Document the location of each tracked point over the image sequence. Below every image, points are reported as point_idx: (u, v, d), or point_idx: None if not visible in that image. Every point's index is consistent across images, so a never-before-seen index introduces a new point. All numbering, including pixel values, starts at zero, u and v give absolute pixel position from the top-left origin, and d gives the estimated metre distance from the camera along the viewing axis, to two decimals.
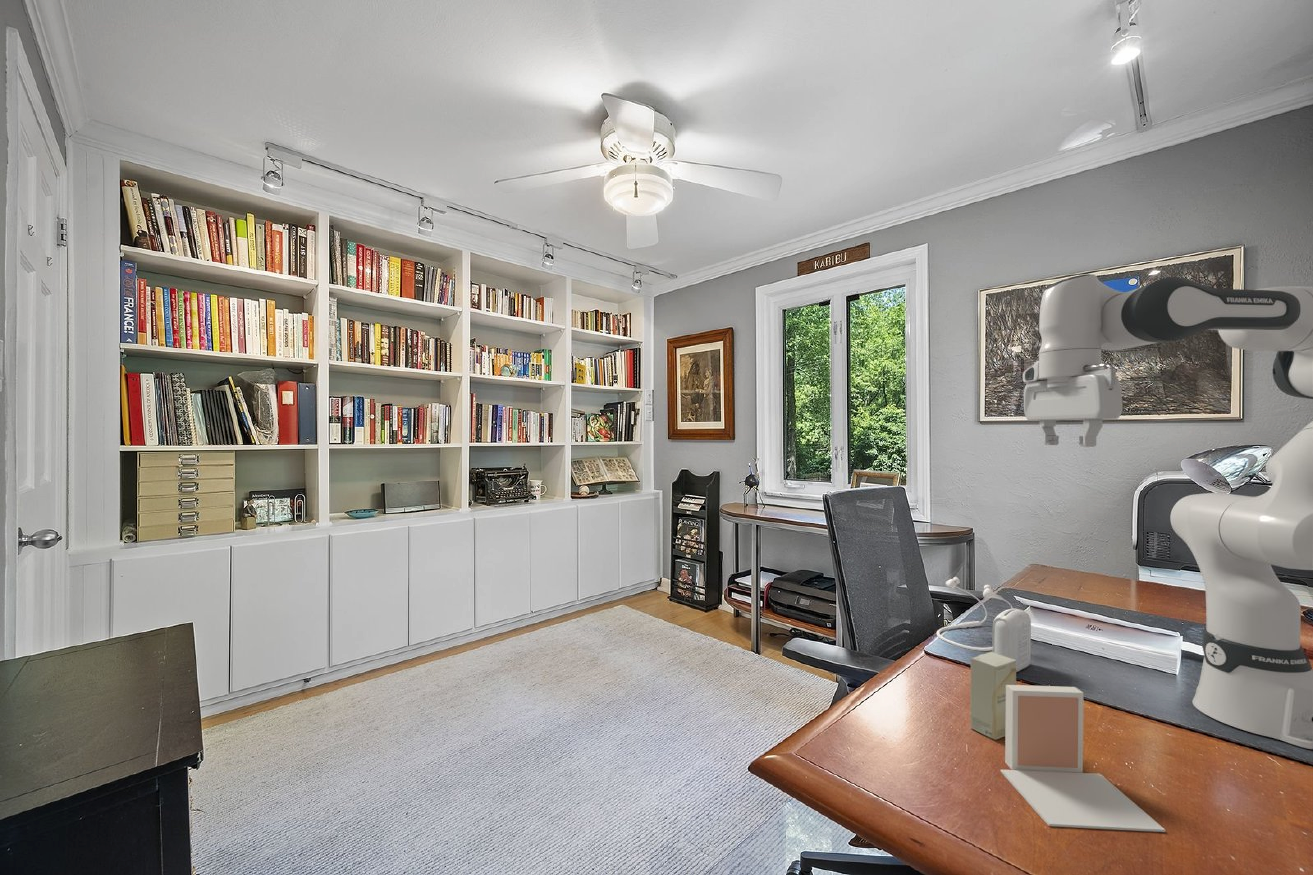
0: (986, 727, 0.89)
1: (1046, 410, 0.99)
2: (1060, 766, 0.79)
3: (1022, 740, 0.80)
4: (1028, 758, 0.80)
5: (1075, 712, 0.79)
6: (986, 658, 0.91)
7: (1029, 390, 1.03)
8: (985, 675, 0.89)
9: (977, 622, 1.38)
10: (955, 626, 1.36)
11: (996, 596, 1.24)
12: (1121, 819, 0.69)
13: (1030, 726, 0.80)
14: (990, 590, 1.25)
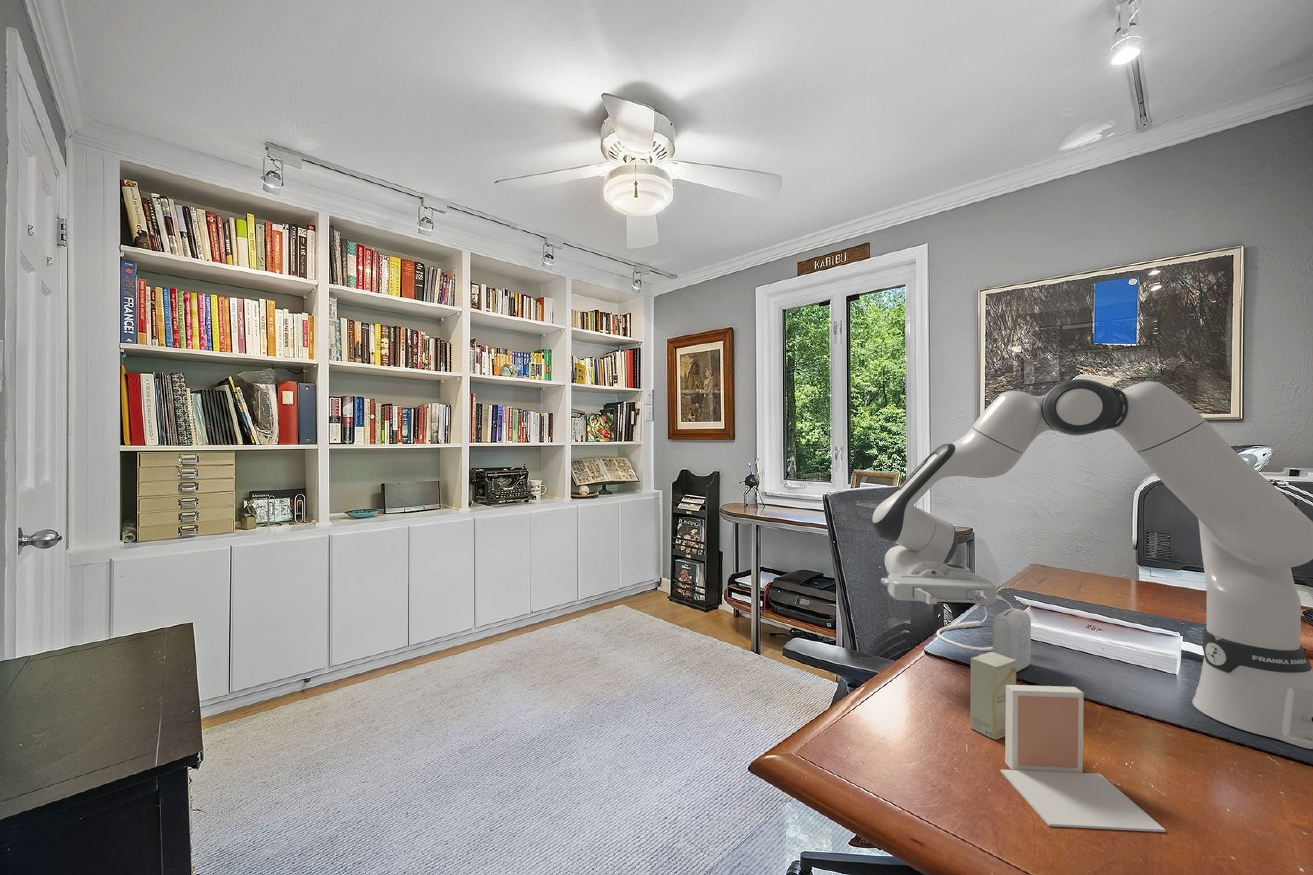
0: (986, 727, 0.89)
1: None
2: (1060, 766, 0.79)
3: (1022, 740, 0.80)
4: (1028, 758, 0.80)
5: (1075, 712, 0.79)
6: (986, 658, 0.91)
7: None
8: (985, 675, 0.89)
9: (977, 622, 1.38)
10: (955, 626, 1.36)
11: None
12: (1121, 819, 0.69)
13: (1030, 726, 0.80)
14: None
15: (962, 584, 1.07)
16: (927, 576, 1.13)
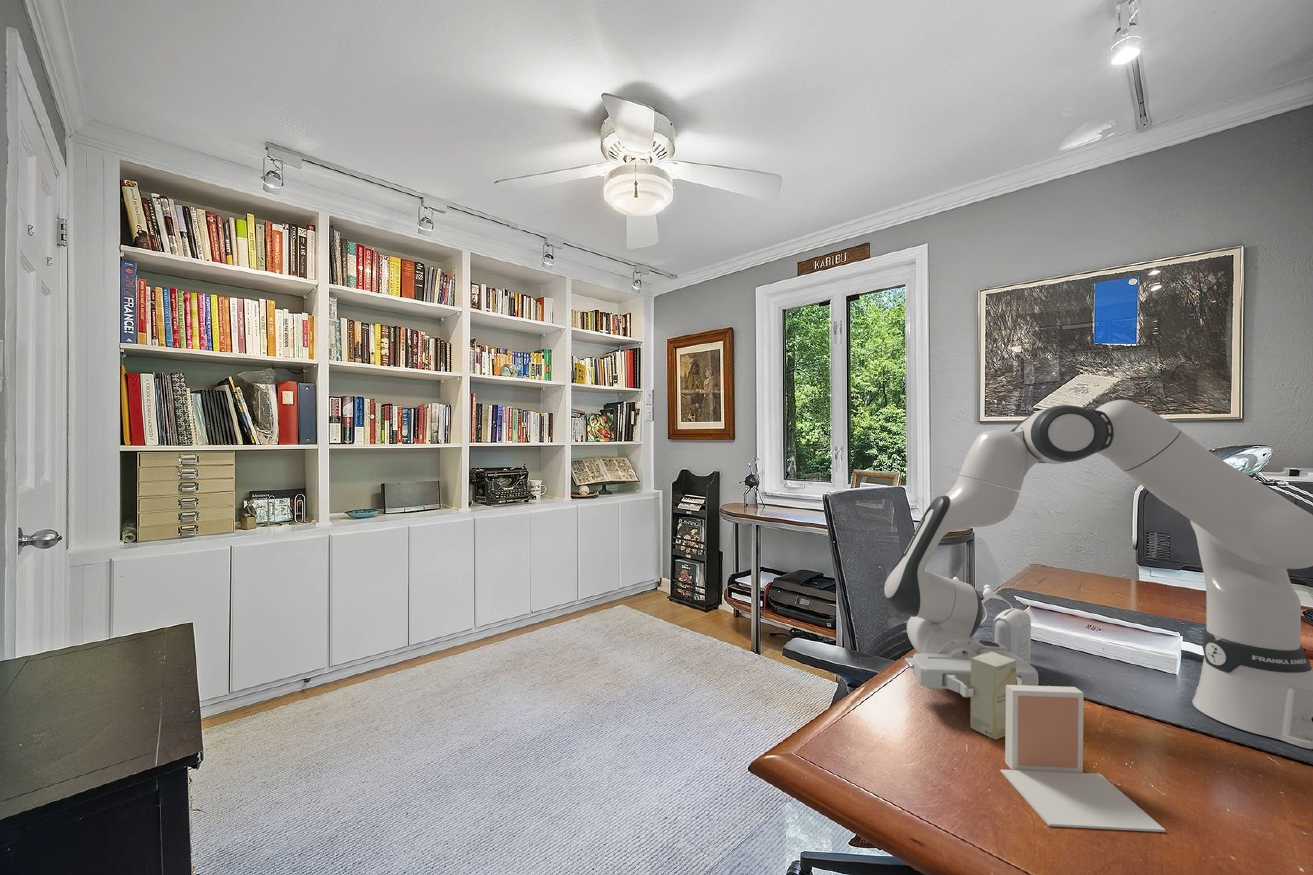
0: (986, 727, 0.89)
1: None
2: (1060, 766, 0.79)
3: (1022, 740, 0.80)
4: (1028, 758, 0.80)
5: (1075, 712, 0.79)
6: (986, 658, 0.91)
7: None
8: (985, 674, 0.89)
9: None
10: None
11: (996, 596, 1.24)
12: (1121, 819, 0.69)
13: (1030, 726, 0.80)
14: (990, 590, 1.25)
15: None
16: (957, 657, 1.00)
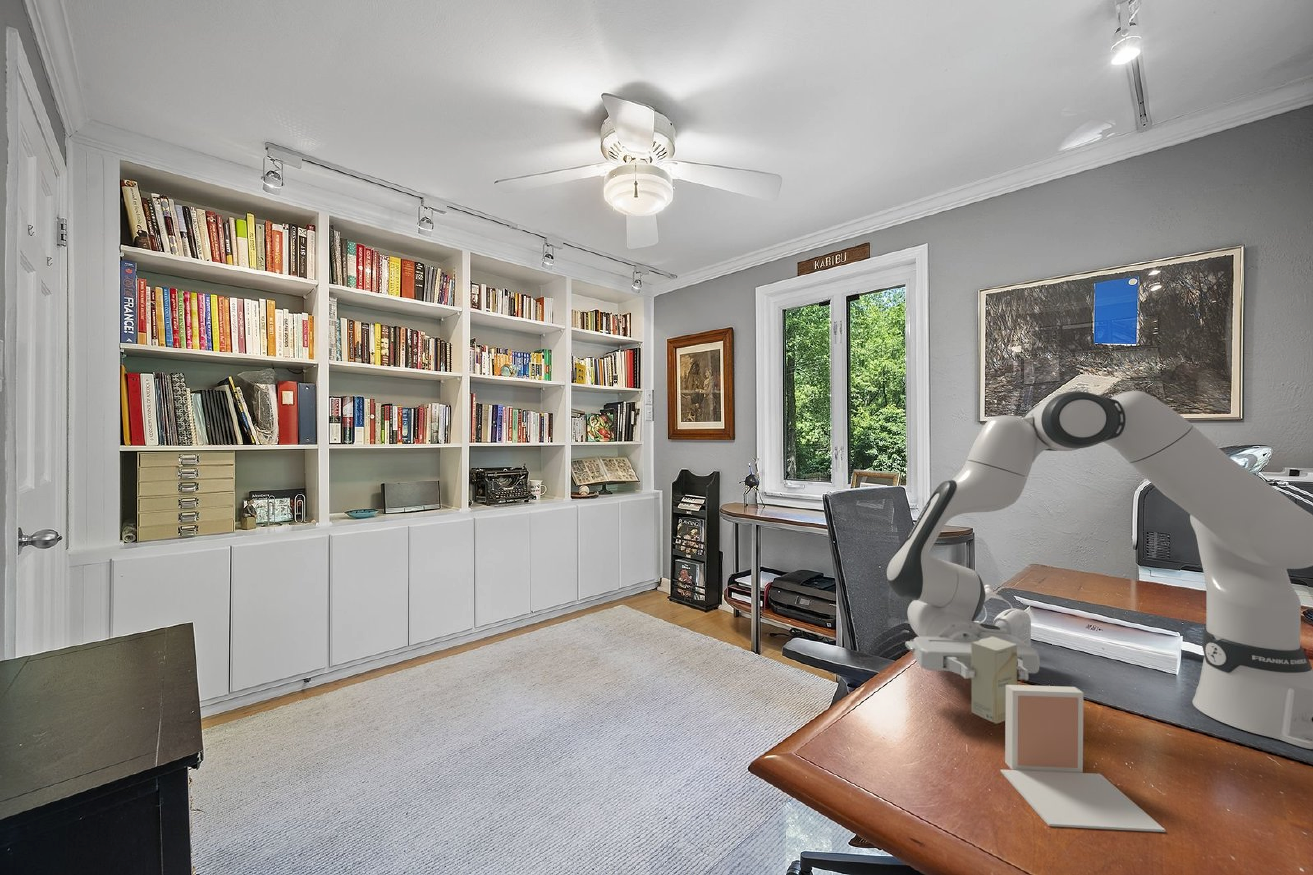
0: (987, 711, 0.89)
1: None
2: (1060, 766, 0.79)
3: (1022, 740, 0.80)
4: (1028, 758, 0.80)
5: (1075, 712, 0.79)
6: (986, 643, 0.91)
7: None
8: (986, 659, 0.89)
9: (977, 622, 1.38)
10: None
11: (996, 596, 1.24)
12: (1121, 819, 0.69)
13: (1030, 726, 0.80)
14: (990, 590, 1.25)
15: None
16: (958, 640, 1.00)
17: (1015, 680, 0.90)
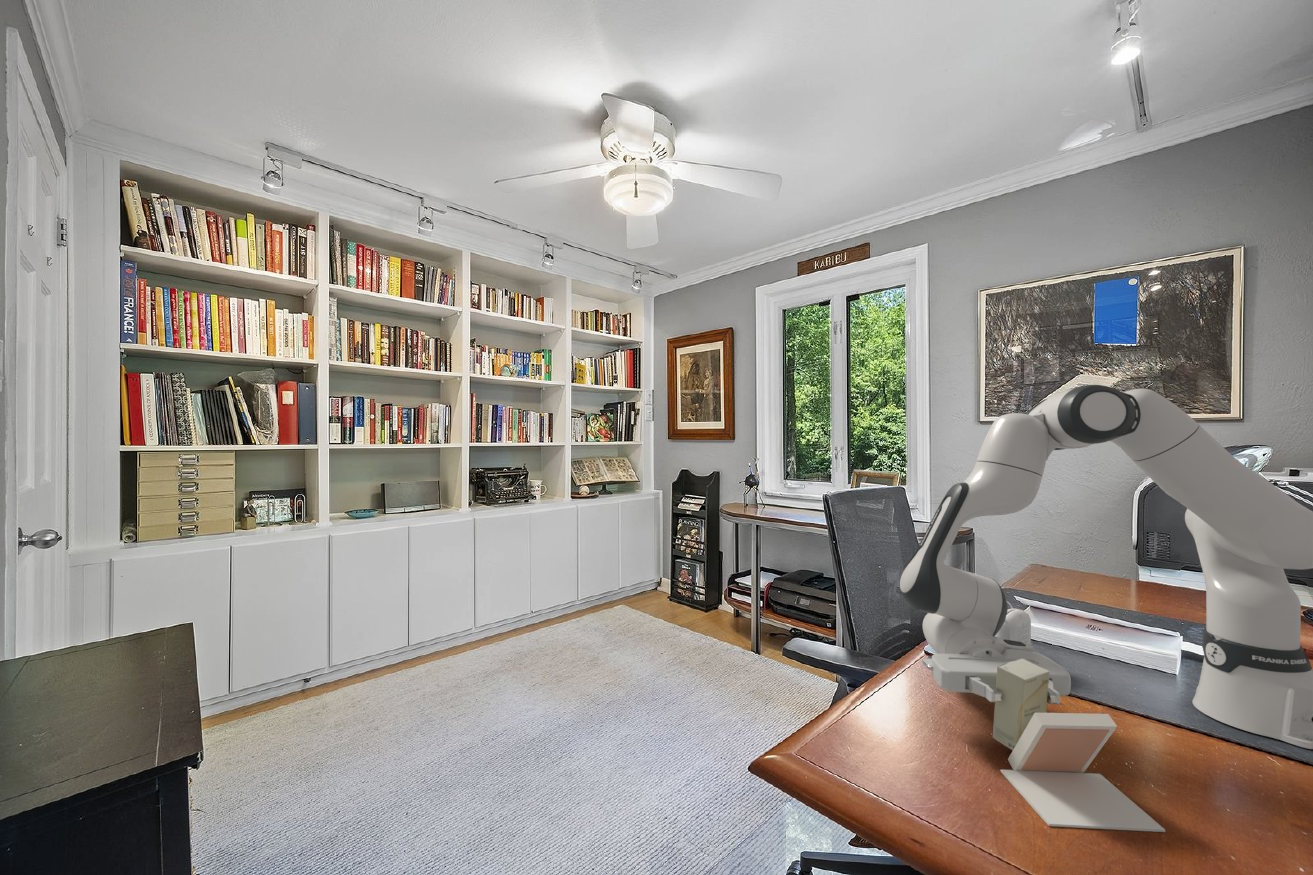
0: (1009, 740, 0.82)
1: None
2: (1063, 770, 0.79)
3: (1035, 755, 0.77)
4: (1033, 765, 0.79)
5: (1100, 739, 0.75)
6: (1015, 668, 0.82)
7: None
8: (1012, 686, 0.81)
9: None
10: None
11: None
12: (1121, 819, 0.69)
13: (1047, 747, 0.76)
14: None
15: None
16: (980, 657, 0.92)
17: (1044, 708, 0.82)
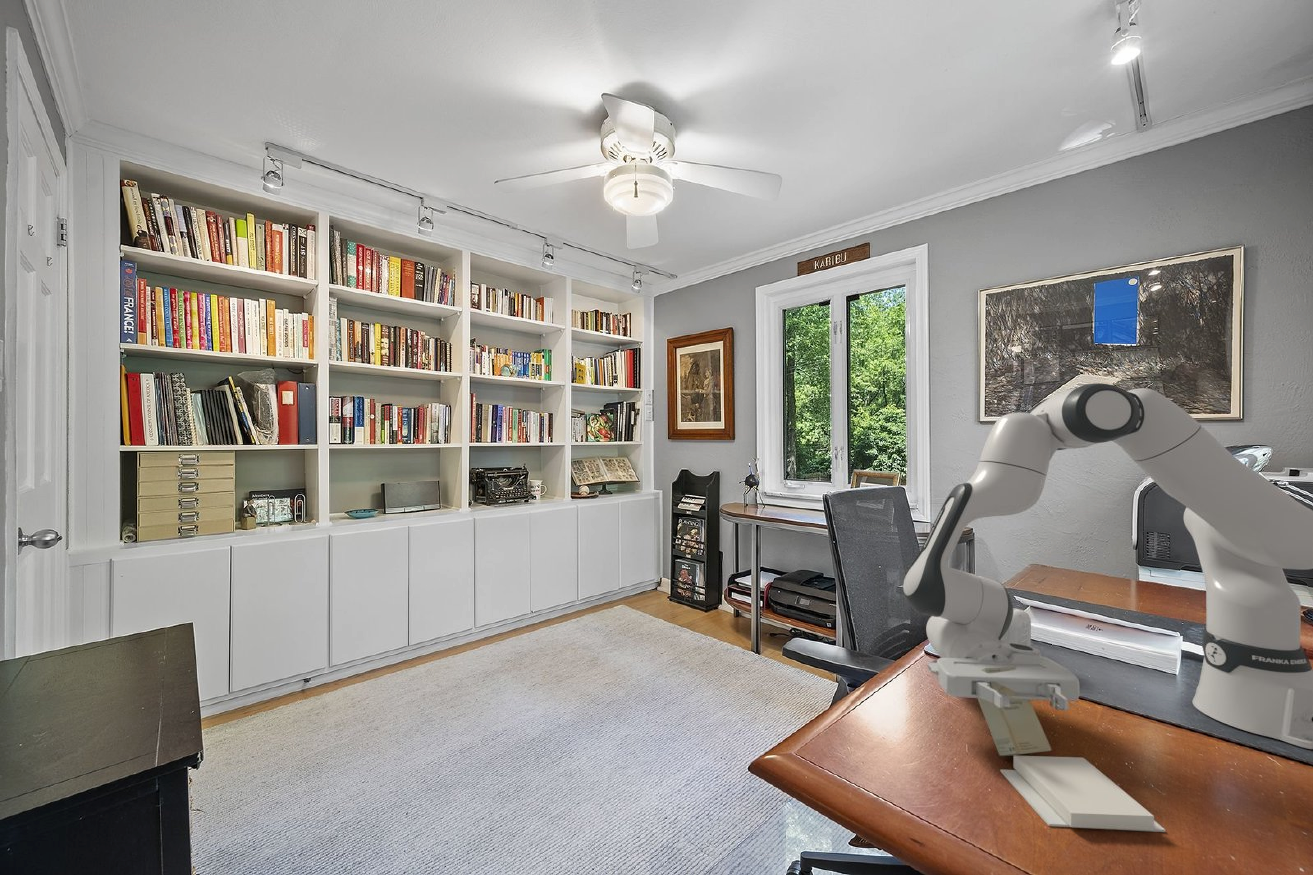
0: (1008, 743, 0.82)
1: None
2: None
3: None
4: None
5: None
6: None
7: None
8: None
9: None
10: None
11: None
12: None
13: None
14: None
15: (1035, 676, 0.85)
16: (986, 662, 0.90)
17: (1029, 706, 0.84)
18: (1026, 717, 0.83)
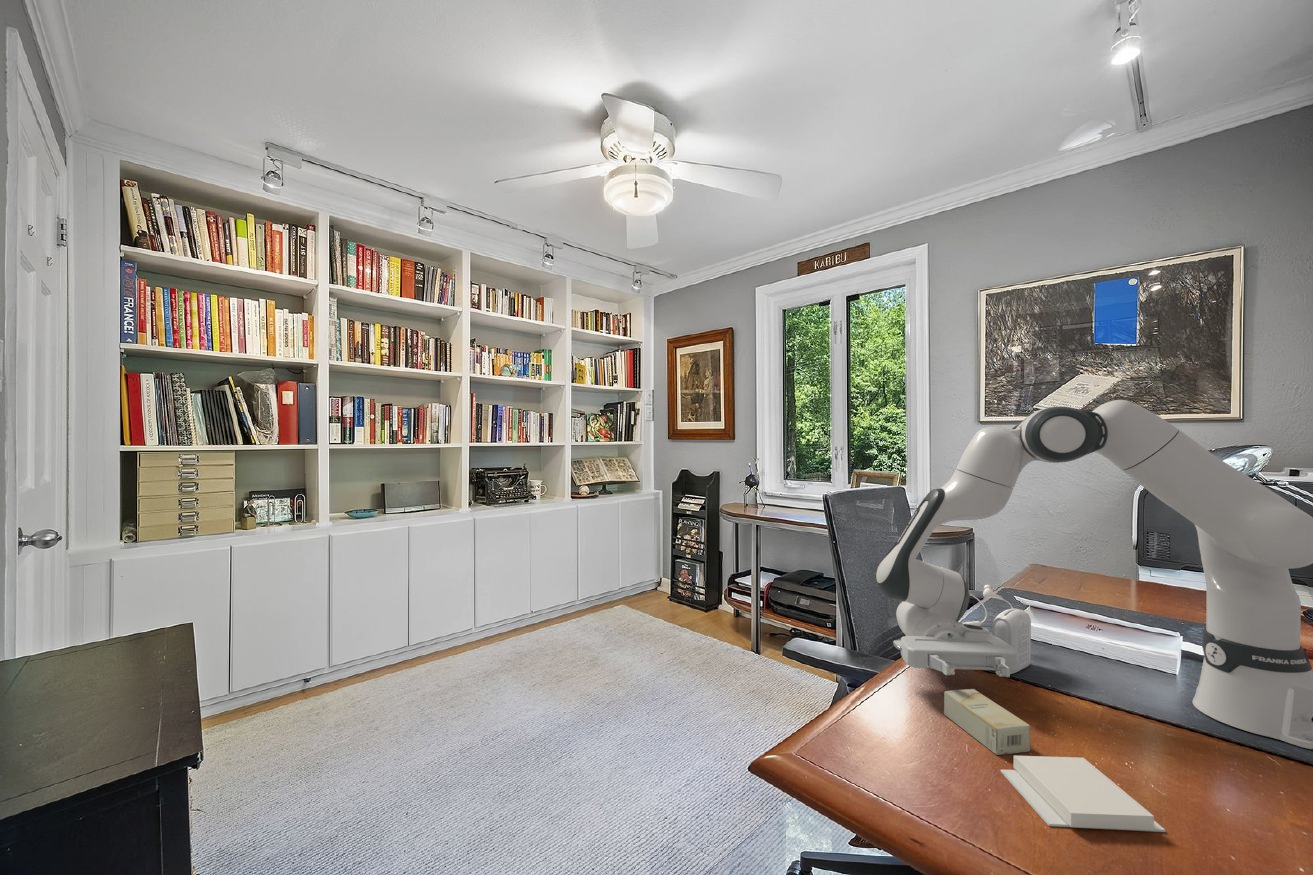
0: (989, 732, 0.85)
1: None
2: None
3: None
4: None
5: None
6: None
7: None
8: (951, 705, 0.93)
9: (977, 622, 1.38)
10: None
11: (996, 596, 1.24)
12: None
13: None
14: (990, 590, 1.25)
15: (981, 650, 1.00)
16: (943, 639, 1.06)
17: (997, 706, 0.90)
18: (995, 711, 0.89)
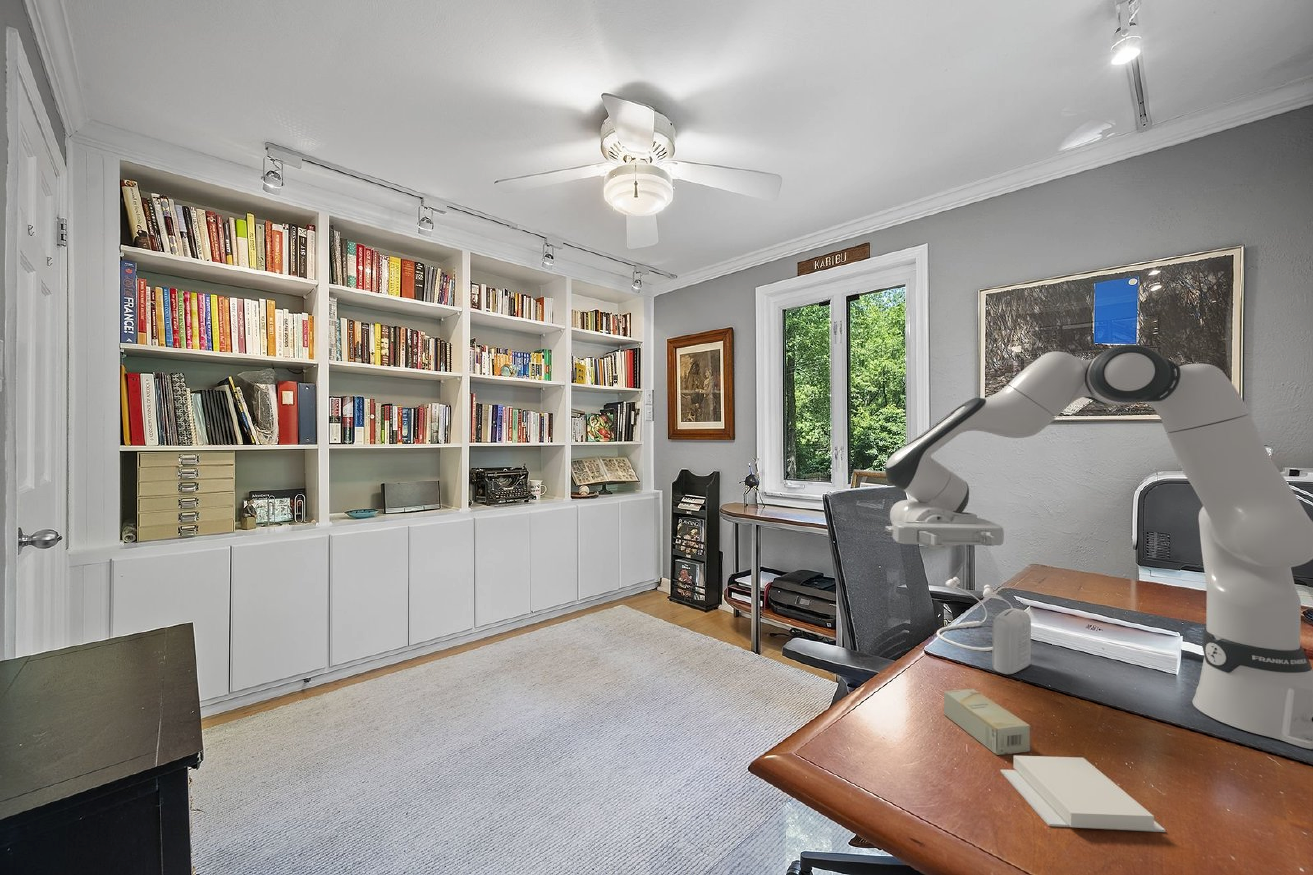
0: (989, 732, 0.85)
1: None
2: None
3: None
4: None
5: None
6: None
7: None
8: (951, 705, 0.93)
9: (977, 622, 1.38)
10: (955, 626, 1.36)
11: (996, 596, 1.24)
12: None
13: None
14: (990, 590, 1.25)
15: (968, 526, 1.05)
16: (932, 522, 1.11)
17: (997, 706, 0.90)
18: (995, 711, 0.89)
